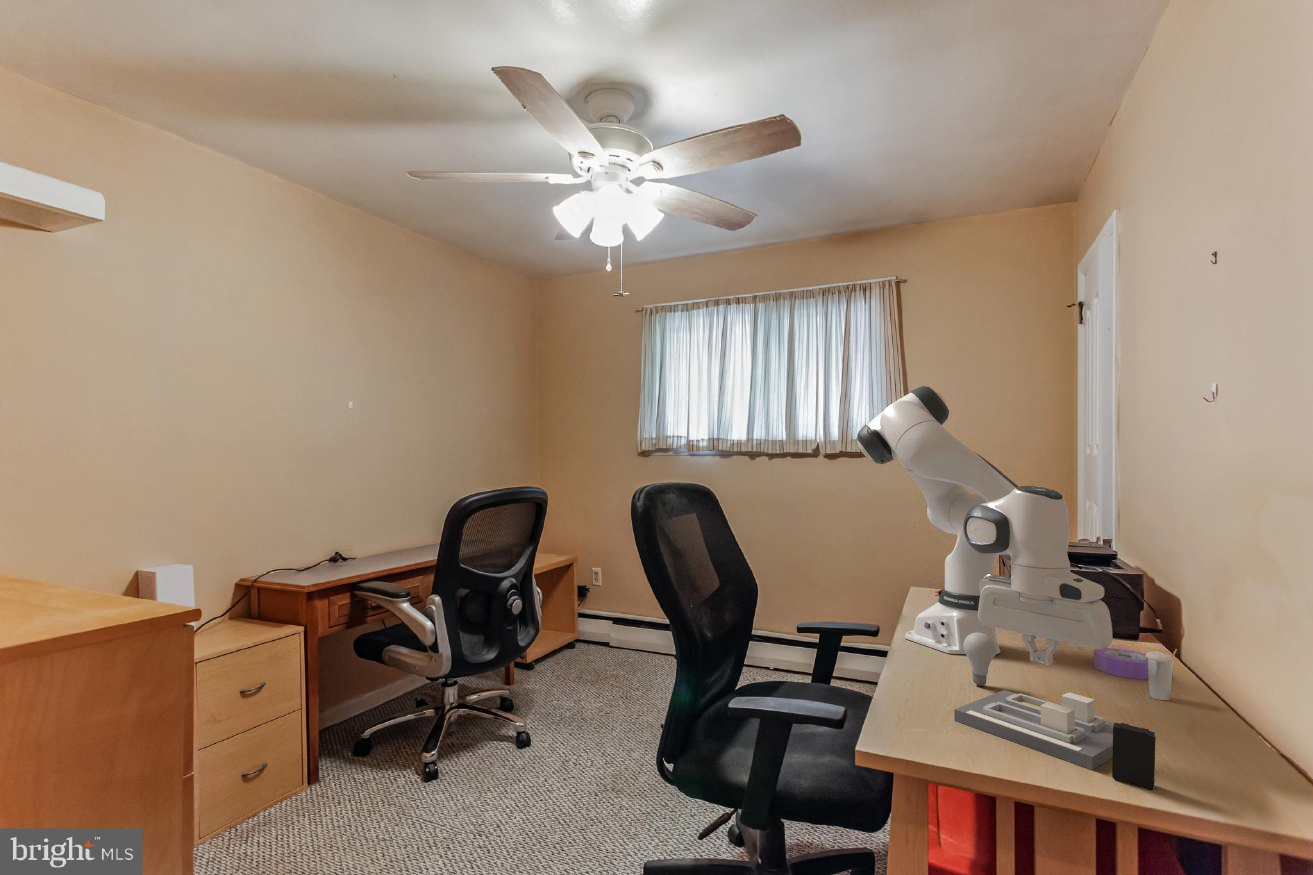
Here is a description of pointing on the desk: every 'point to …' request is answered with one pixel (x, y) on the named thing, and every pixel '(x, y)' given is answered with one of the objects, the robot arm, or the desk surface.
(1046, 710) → the switch tab
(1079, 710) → the switch tab
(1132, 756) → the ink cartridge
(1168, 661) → the milkshake
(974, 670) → the lightbulb
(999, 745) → the desk surface
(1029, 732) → the switch panel
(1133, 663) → the masking tape
